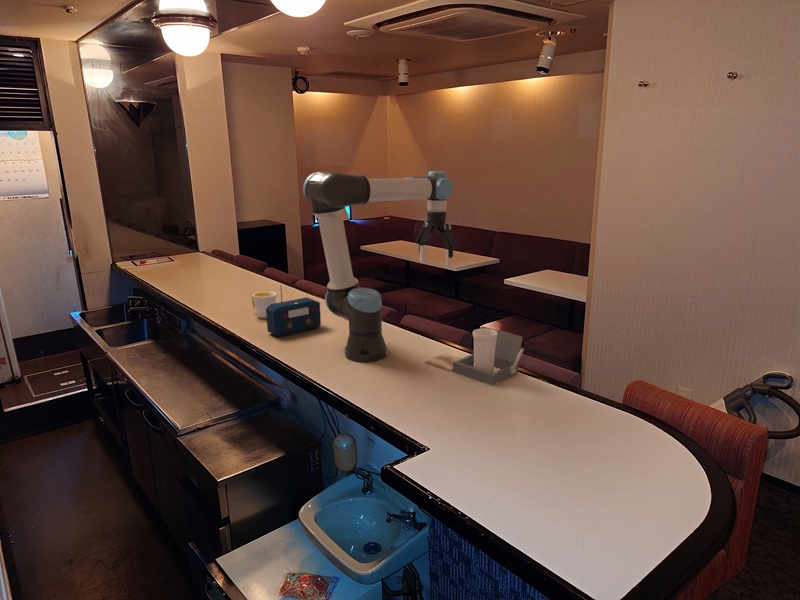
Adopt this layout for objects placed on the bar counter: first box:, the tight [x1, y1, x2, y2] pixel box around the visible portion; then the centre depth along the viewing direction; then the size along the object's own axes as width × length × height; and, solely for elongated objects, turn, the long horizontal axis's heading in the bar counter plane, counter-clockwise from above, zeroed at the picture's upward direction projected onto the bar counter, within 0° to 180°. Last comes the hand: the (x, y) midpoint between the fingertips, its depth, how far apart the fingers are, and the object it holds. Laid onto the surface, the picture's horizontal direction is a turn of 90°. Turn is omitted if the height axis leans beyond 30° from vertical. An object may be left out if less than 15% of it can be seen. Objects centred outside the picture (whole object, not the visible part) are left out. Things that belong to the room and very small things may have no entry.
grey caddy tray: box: [452, 325, 525, 386], centre depth 178 cm, size 16×17×12 cm
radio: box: [266, 284, 322, 338], centre depth 220 cm, size 21×9×20 cm, turn 129°
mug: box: [251, 291, 277, 319], centre depth 243 cm, size 14×10×10 cm
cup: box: [472, 328, 498, 374], centre depth 177 cm, size 8×8×14 cm
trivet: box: [424, 353, 463, 372], centre depth 188 cm, size 11×11×1 cm
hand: (435, 263), depth 223 cm, fingers open, 13 cm apart
